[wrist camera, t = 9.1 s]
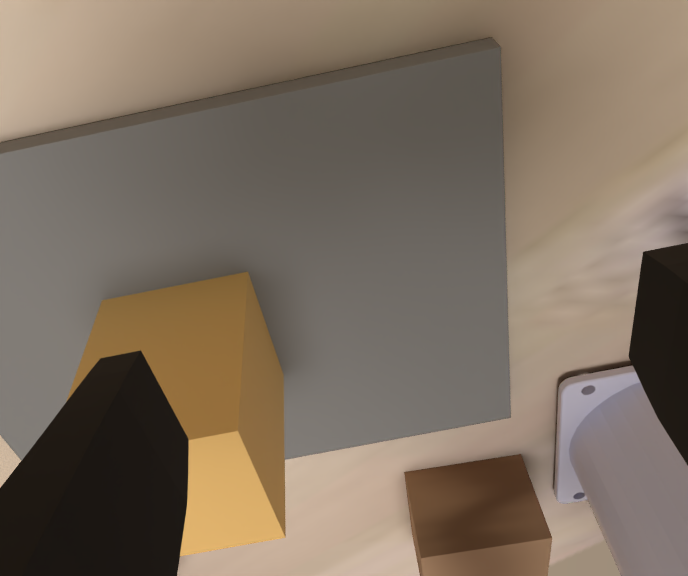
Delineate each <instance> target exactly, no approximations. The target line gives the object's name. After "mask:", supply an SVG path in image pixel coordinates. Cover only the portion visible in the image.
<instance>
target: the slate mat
mask: <svg viewBox="0 0 688 576" xmlns="http://www.w3.org/2000/svg"><path fill="white" fill-rule="evenodd" d="M244 272H248V273H249V276H250V279H251V282H252V285H253V288H254V291H255V294H256V296H257V299H258V302H259V305H260V308H261V311H262V314H263V317H264V320H265V323H266V325H267V328H268V331H269V334H270V337H271V340H272V343H273V346H274V349H275V352H276V354H277V357H278V360H279V363H280V366H281V369H282V372H283V375H284V452H285V460H286V459H291V458H297V457H302V456H307V455H313V454H318V453H324V452H329V451H334V450H340V449H345V448H350V447H356V446H361V445H367V444H372V443H377V442H383V441H388V440H394V439H399V438H404V437H410V436H415V435H420V434H426V433H431V432H437V431H442V430H447V429H453V428H458V427H463V426H469V425H474V424H480V423H485V422H490V421H496V420H501V419H507V418H511V406H510V370H509V334H508V297H507V261H506V225H505V189H504V152H503V116H502V80H501V47H500V46H499V45H498V44H497V43H496V42H495V40H494V39H493V38H492V37H491V38H487V39H482V40H477V41H473V42H468V43H463V44H459V45H454V46H449V47H445V48H440V49H435V50H431V51H426V52H421V53H417V54H412V55H407V56H403V57H398V58H393V59H389V60H384V61H379V62H375V63H370V64H365V65H361V66H356V67H351V68H347V69H342V70H337V71H333V72H328V73H323V74H319V75H314V76H309V77H305V78H300V79H295V80H291V81H286V82H281V83H277V84H272V85H267V86H263V87H258V88H253V89H249V90H244V91H239V92H235V93H230V94H225V95H221V96H216V97H211V98H207V99H202V100H197V101H193V102H188V103H183V104H179V105H174V106H169V107H165V108H160V109H155V110H151V111H146V112H141V113H137V114H132V115H127V116H123V117H118V118H113V119H109V120H104V121H99V122H95V123H90V124H85V125H81V126H76V127H71V128H67V129H62V130H57V131H53V132H48V133H43V134H39V135H34V136H29V137H25V138H20V139H15V140H11V141H6V142H1V143H0V435H1V436H2V438H3V439H4V440H5V441H6V442H7V444H8V445H9V446H10V447H11V449H12V450H13V451H14V452H15V453H16V455H17V456H18V457H19V458H20V459H21V461H22V460H23V458H24V457H25V456H26V454H27V453H28V452H29V450H30V449H31V448H32V447H33V445H34V444H35V443H36V441H37V440H38V439H39V438H40V436H41V435H42V434H43V432H44V431H45V430H46V428H47V427H48V426H49V424H50V423H51V422H52V420H53V419H54V418H55V416H56V415H57V414H58V412H59V411H60V410H61V408H62V407H63V406H64V404H65V403H66V401H67V398H68V395H69V393H70V390H71V387H72V384H73V381H74V378H75V376H76V373H77V370H78V367H79V364H80V361H81V359H82V356H83V353H84V350H85V347H86V344H87V342H88V339H89V336H90V333H91V330H92V327H93V325H94V322H95V319H96V316H97V313H98V310H99V308H100V305H101V302H102V300H107V299H112V298H117V297H122V296H127V295H132V294H137V293H142V292H147V291H152V290H157V289H162V288H168V287H173V286H178V285H183V284H188V283H193V282H198V281H203V280H208V279H213V278H218V277H223V276H228V275H234V274H239V273H244Z"/></svg>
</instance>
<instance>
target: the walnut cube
mask: <svg viewBox="0 0 688 576" xmlns="http://www.w3.org/2000/svg"><path fill="white" fill-rule="evenodd" d="M404 473H405V481H406V489H407V496H408V504H409V512H410V520H411V527H412V535H413V540H414V546H415V551H416V557H417V562H418V567H419V573H420V576H547V575H548V567H549V559H550V552H551V544H552V536H551V533H550V531H549V528H548V525H547V523H546V520H545V517H544V515H543V512H542V509H541V507H540V504H539V502H538V499H537V496H536V494H535V491H534V488H533V486H532V483H531V480H530V478H529V475H528V472H527V470H526V467H525V464H524V462H523V459H522V456H521V454H519V455H512V456H506V457H499V458H493V459H486V460H480V461H474V462H467V463H461V464H454V465H448V466H441V467H435V468H428V469H422V470H416V471H409V472H404Z"/></svg>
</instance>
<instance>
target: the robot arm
mask: <svg viewBox="0 0 688 576" xmlns="http://www.w3.org/2000/svg"><path fill="white" fill-rule="evenodd" d="M629 358H630V360H631V362H632V366H627V367H622V368H616V369H611V370H606V371H600V372H595V373H590V374H584V375H579V376H574V377H570V378H567V379H565V380H564V381H563V382H562V383H561V384H560V385H559V390H558V413H557V436H556V459H555V482H554V494H555V497H556V500H557V501H558V502H559V503H562V504H568V503H573V502H579V501H584V500H588V502H589V504H590V507H591V509H592V511H593V513H594V516H595V518H596V520H597V522H598V525H599V527H600V529H601V531H602V534H603V536H604V538H605V540H606V543H607V545H608V547H609V549H610V552H611V554H612V556H613V558H614V560H615V563H616V565H617V567H618V570H619V572H620V574H621V576H688V243H686V244H681V245H676V246H671V247H666V248H660V249H655V250H650V251H645V252H643V257H642V264H641V272H640V279H639V286H638V293H637V300H636V307H635V315H634V322H633V329H632V336H631V343H630V351H629ZM188 456H189V439H188V437H187V435H186V433H185V431H184V430H183V428H182V426H181V424H180V422H179V420H178V418H177V417H176V415H175V413H174V411H173V409H172V407H171V405H170V404H169V402H168V400H167V398H166V396H165V394H164V392H163V390H162V389H161V387H160V385H159V383H158V381H157V379H156V377H155V376H154V374H153V372H152V370H151V368H150V366H149V364H148V362H147V361H146V359H145V357H144V355H143V353H142V351H141V350H140V351H135V352H130V353H125V354H120V355H115V356H110V357H105V358H100V359H99V361H98V362H97V363H96V364H95V366H94V367H93V368H92V369H91V370H90V372H89V373H88V374H87V376H86V377H85V378H84V379H83V381H82V382H81V383H80V385H79V386H78V387H77V389H76V390H75V391H74V393H73V394H72V395H71V396H70V398H69V399H68V400H67V402H66V403H65V404H64V406H63V407H62V408H61V410H60V411H59V412H58V414H57V415H56V416H55V418H54V419H53V420H52V422H51V423H50V424H49V426H48V427H47V428H46V430H45V431H44V432H43V434H42V435H41V436H40V438H39V439H38V440H37V441H36V443H35V444H34V445H33V447H32V448H31V449H30V450H29V452H28V453H27V454H26V456H25V457H24V458H23V460H22V461H21V462H20V463H19V465H18V466H17V467H16V469H15V470H14V471H13V472H12V474H11V475H10V476H9V478H8V479H7V480H6V482H5V483H4V484H3V485H2V487H1V488H0V576H177V571H178V564H179V558H180V551H181V544H182V538H183V531H184V524H185V517H186V509H187V497H188Z"/></svg>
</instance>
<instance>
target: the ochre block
mask: <svg viewBox="0 0 688 576" xmlns="http://www.w3.org/2000/svg"><path fill="white" fill-rule="evenodd" d="M140 350H141V351H142V353H143V355H144V357H145V359H146V361H147V362H148V364H149V366H150V368H151V370H152V372H153V374H154V376H155V377H156V379H157V381H158V383H159V385H160V387H161V389H162V390H163V392H164V394H165V396H166V398H167V400H168V402H169V404H170V405H171V407H172V409H173V411H174V413H175V415H176V417H177V418H178V420H179V422H180V424H181V426H182V428H183V430H184V431H185V433H186V435H187V437H188V439H189V456H188V497H187V509H186V517H185V524H184V531H183V538H182V544H181V551H180V556H184V555H190V554H196V553H201V552H207V551H212V550H218V549H224V548H229V547H235V546H241V545H246V544H252V543H257V542H263V541H269V540H274V539H280V538H285V452H284V375H283V372H282V369H281V366H280V363H279V360H278V357H277V354H276V352H275V349H274V346H273V343H272V340H271V337H270V334H269V331H268V328H267V325H266V323H265V320H264V317H263V314H262V311H261V308H260V305H259V302H258V299H257V296H256V294H255V291H254V288H253V285H252V282H251V279H250V276H249V273H248V272H244V273H239V274H234V275H228V276H223V277H218V278H213V279H208V280H203V281H198V282H193V283H188V284H183V285H178V286H173V287H168V288H162V289H157V290H152V291H147V292H142V293H137V294H132V295H127V296H122V297H117V298H112V299H107V300H102V302H101V305H100V308H99V310H98V313H97V316H96V319H95V322H94V325H93V327H92V330H91V333H90V336H89V339H88V342H87V344H86V347H85V350H84V353H83V356H82V359H81V361H80V364H79V367H78V370H77V373H76V376H75V378H74V381H73V384H72V387H71V390H70V393H69V395H68V398H67V400H68V399H69V398H70V396H71V395H72V394H73V393H74V391H75V390H76V389H77V387H78V386H79V385H80V383H81V382H82V381H83V379H84V378H85V377H86V376H87V374H88V373H89V372H90V370H91V369H92V368H93V367H94V366H95V364H96V363H97V362H98V361H99V359H100V358H105V357H110V356H115V355H120V354H125V353H130V352H135V351H140ZM66 402H67V401H66Z"/></svg>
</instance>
